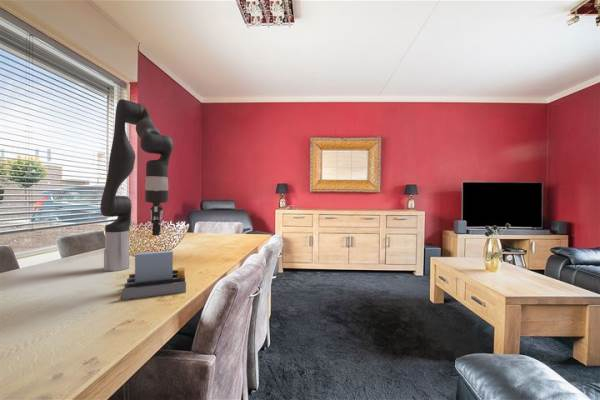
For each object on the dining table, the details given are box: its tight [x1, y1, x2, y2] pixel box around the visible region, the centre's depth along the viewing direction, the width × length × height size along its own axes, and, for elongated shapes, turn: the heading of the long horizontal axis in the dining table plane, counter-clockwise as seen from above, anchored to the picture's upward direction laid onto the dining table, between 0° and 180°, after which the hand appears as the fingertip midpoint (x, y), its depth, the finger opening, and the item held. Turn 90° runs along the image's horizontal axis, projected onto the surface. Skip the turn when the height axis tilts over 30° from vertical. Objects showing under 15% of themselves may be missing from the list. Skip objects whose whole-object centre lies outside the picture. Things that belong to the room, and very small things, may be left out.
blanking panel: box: [134, 250, 174, 282], centre depth 100 cm, size 12×3×12 cm, turn 116°
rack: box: [121, 267, 187, 302], centre depth 100 cm, size 19×18×6 cm
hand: (156, 233), depth 100 cm, fingers open, 8 cm apart
